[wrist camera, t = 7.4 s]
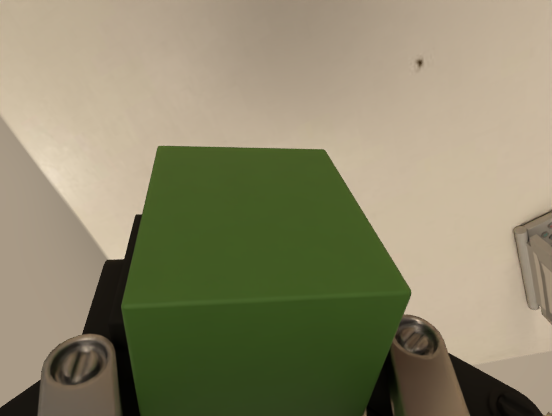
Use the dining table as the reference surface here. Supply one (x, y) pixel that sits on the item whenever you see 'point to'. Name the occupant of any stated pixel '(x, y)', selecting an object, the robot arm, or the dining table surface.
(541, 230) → the handheld gaming console
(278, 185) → the snack box
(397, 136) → the dining table surface
